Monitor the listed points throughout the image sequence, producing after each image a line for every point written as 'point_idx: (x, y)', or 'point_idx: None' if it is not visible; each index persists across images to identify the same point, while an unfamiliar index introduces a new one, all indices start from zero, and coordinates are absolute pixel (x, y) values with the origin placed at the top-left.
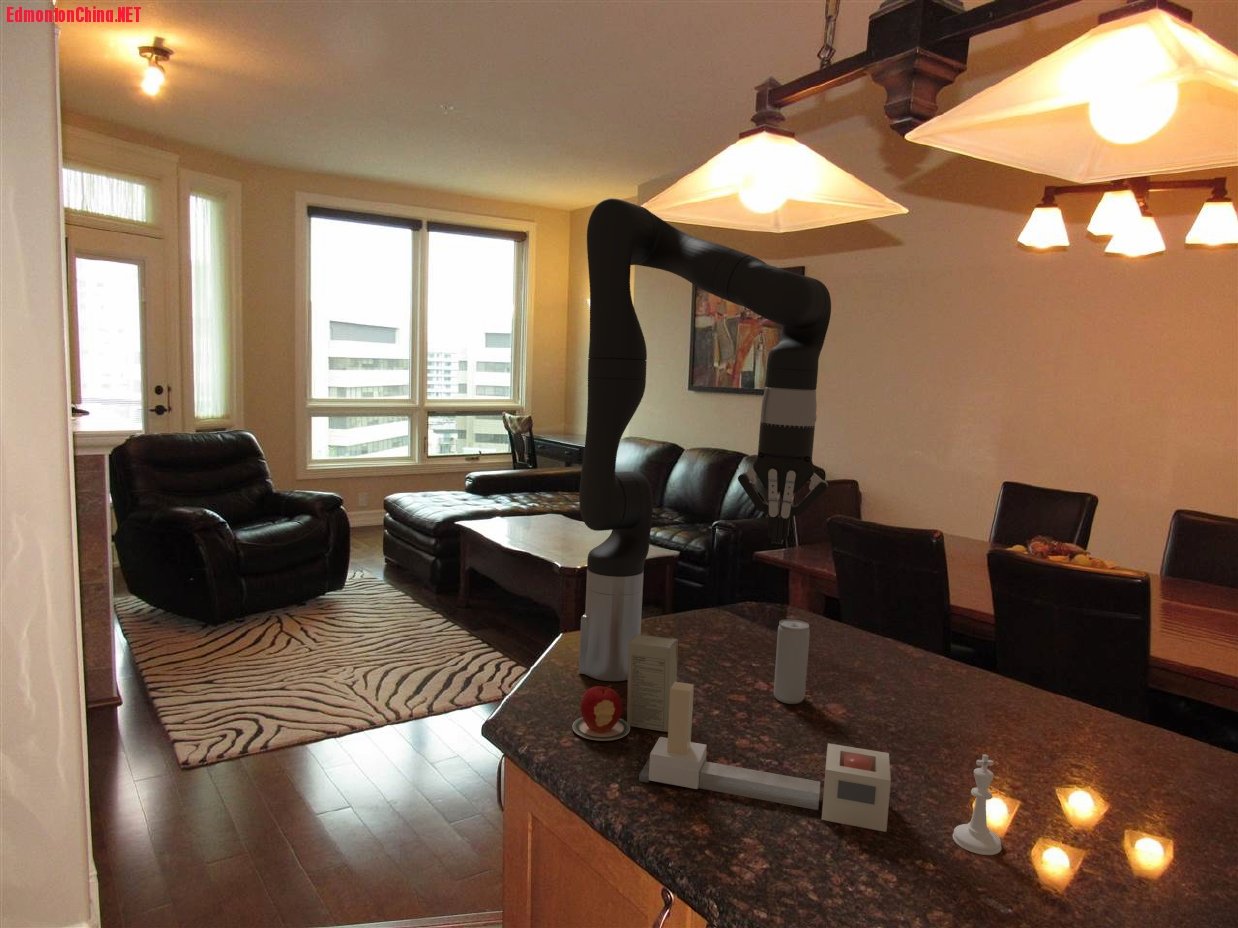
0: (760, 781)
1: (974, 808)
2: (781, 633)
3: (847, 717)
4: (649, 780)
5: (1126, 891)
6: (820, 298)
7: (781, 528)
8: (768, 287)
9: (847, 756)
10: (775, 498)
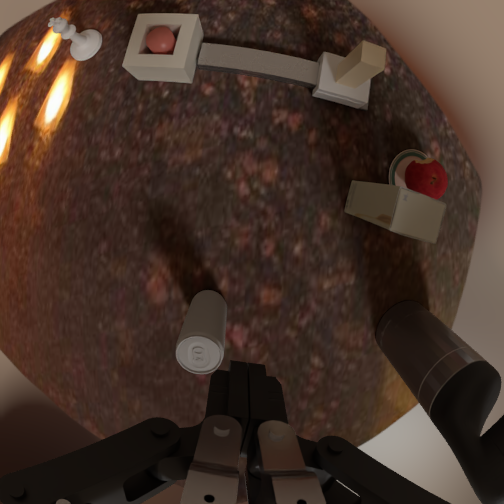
0: (259, 52)
1: (78, 35)
2: (219, 337)
3: (145, 267)
4: None
5: (28, 32)
6: None
7: (234, 390)
8: None
9: (168, 41)
10: (280, 477)
